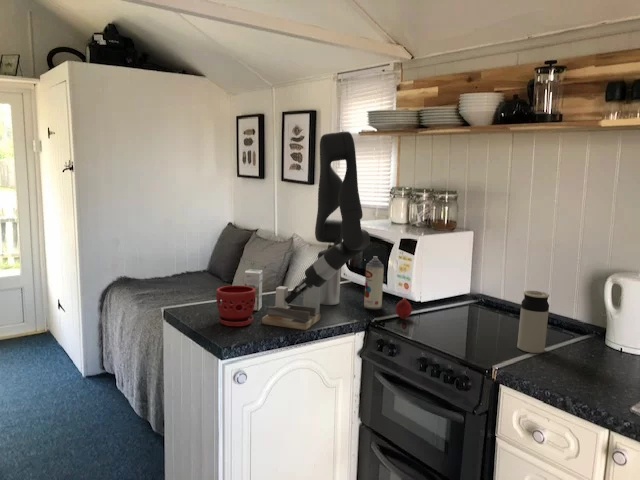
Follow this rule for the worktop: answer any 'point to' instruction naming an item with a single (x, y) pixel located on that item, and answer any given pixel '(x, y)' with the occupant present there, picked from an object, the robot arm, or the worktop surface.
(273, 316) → the switch plate
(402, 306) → the onion
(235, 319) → the plant pot
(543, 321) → the travel mug
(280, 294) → the switch knob
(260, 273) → the syrup box
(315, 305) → the skincare box
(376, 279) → the aerosol can
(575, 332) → the worktop surface
